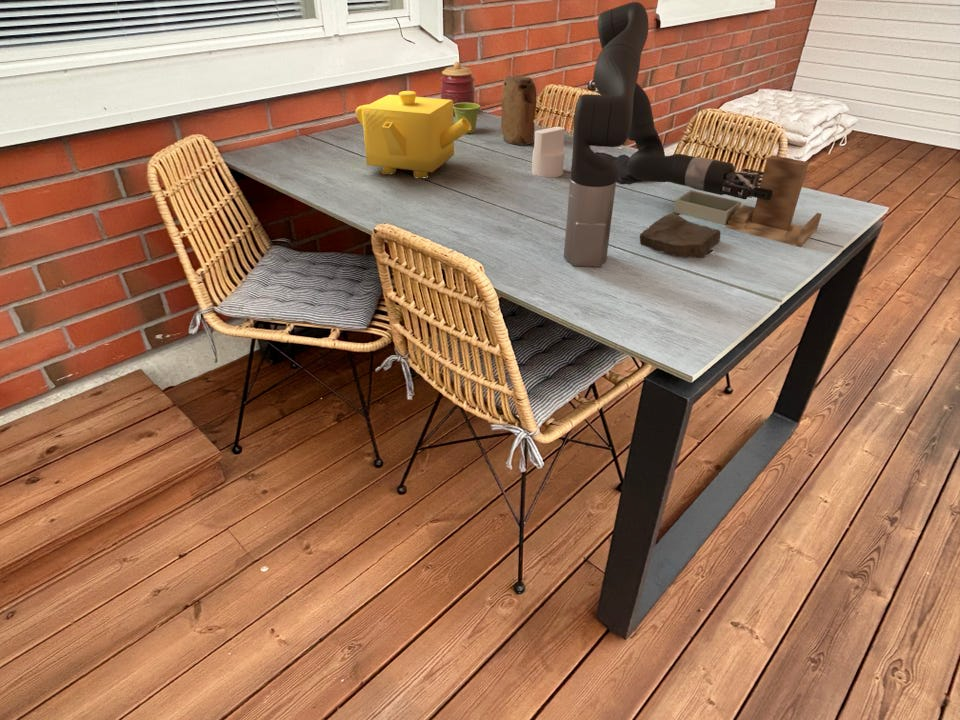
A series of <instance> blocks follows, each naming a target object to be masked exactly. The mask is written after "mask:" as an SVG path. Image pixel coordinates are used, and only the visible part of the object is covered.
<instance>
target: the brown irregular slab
mask: <svg viewBox="0 0 960 720" xmlns="http://www.w3.org/2000/svg"><path fill="white" fill-rule="evenodd" d="M720 241H721V231H720V230H719V229H715V228H711V227H710V226H707V225H699V224H696V223H693V222H691V221H688V220H687V219H686V218H684V217H682V216H681V215H677V214H673V212H672V213H667V214H666V215H664V216H662V217H660V218H659V219H657V220H656V221H655V222H654V223H652V224H650V225H649V226H648V228H646V229H644V230H643V231H642V232H641V233H640V234H639V243H640V245H641V246H645V247H648V248H651V249H652V250H654V251H657V252H662V253H664V254H667V255H671V256H675V257H681V258H698V259H704V258H706V256H707V255H708V254H709V253H710V254H711V253H712V252H714V251H713V249H712V248H713V247H716V245H718V244H719V243H720Z"/></svg>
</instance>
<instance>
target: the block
mask: <svg viewBox="0 0 960 720" xmlns="http://www.w3.org/2000/svg"><path fill="white" fill-rule="evenodd" d="M501 90H502V91H501V111H500V112H501V113H500V114H501V115H500V117H501V118H500V120H501V122H500V125H501V126H500V129H501V130H500V131H501V133H502V135H503V136H502V139H503V141H504V142H505V143H507V142H508V143H507V144H511V145H518V146H527V145H530V144H532V143H533V141H534V140H535V121H534V120H535V118H536V110H537V88H536V85H535V83H534V80H533V79H532V77H529V76H526V75H525V76H524V75H514V76H511V75H509V76H505V77H504V78H503V82H502V89H501Z"/></svg>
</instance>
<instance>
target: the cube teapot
mask: <svg viewBox="0 0 960 720" xmlns="http://www.w3.org/2000/svg"><path fill="white" fill-rule="evenodd" d="M355 116H356V119H357V120H358V121H359V123H360V124H361V125H362V127H363V128H362V129H363V138H364V148H365V149H364V150H365V159H366V165H367V166H376V167H381V168H382V170H381V171H380V174H382V173H384V174H383V175H385V174H390V175H392V174H391V173H394V174H395V173H396V172H397V170H399V169H400V170H409V171H412V172H413V173H412V174H413V177H414V178H415V177H418V178H423V177H427V176H428V175H429V173H434V172H435V171H436V170H437V169H439V168H441V167H442V166H443V164H445V163H446V162H447V161H448V160H450V159H451V158H452V157H453V156H454V155H455V141H457V140H459V139H460V138H461V137H462V136H464V135H467V134H466V133H467V132H469V131H470V130H471V129H472V128H471V125H470V123H469V121H468V120H467V119H466V118H462V119H460V120H459V121H458V122H456V121H455V123H454V116H453V100H447V99H441V98H436V97H435V98H434V97H423V96H422V97H421V96H417V92H415V91H413V90H404V91H400V92H399V93H398V94H388V95H385V96H383V97H382V98H379V99H377V100H376V101H373V102H371V103H369V104H363V105H362V104H361V105H359V106H357V108H356V109H355ZM441 165H442V166H441ZM440 166H441V167H440ZM418 178H417V179H418ZM427 178H428V177H427ZM423 179H424V178H423Z"/></svg>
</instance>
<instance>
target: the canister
mask: <svg viewBox="0 0 960 720" xmlns="http://www.w3.org/2000/svg"><path fill="white" fill-rule="evenodd" d="M461 65H462V64H461V63H460V61H455V62H454V63H453V66H449V67H446V68H445V69H444V70H442V71H441V74H442V76H441V77H440V78H439V82H441V83H440V84H441V85H440V88H439V90H440V99H447V100H453V104H456V103H475V90H476V88H475V86H474V82H475V80H476V78H475V77H474V76H473V73H474V72H473V70H472V69H470V68H468V67H466V66H461ZM453 117H455V112H454V108H453Z"/></svg>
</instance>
